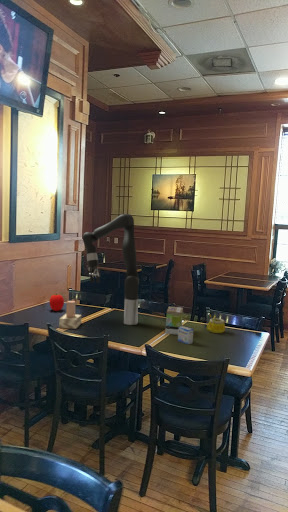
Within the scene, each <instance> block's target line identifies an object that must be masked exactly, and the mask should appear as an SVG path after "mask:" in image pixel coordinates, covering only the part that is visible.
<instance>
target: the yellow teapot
mask: <svg viewBox="0 0 288 512" xmlns="http://www.w3.org/2000/svg"><path fill="white" fill-rule="evenodd" d="M209 316H210V319H209V322H208V323H207V325H206V330H207V331H208V332H211V333H213V334H223V333H225V330H226V324H225V320H224V319H222V318H217V316H216V315H214V316H213V318H212V315H211V314H209Z"/></svg>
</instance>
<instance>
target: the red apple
mask: <svg viewBox="0 0 288 512" xmlns="http://www.w3.org/2000/svg"><path fill="white" fill-rule="evenodd" d="M48 302H49V306H50V309H51V310H52V311H55V312H58V311H61V310H62V309H63V308H64V304H65V300H64V297H63V296H62V295H61V294H58V293H56V294H53V295H52V294H51V296H50V298H49V301H48Z"/></svg>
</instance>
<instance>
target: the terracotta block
mask: <svg viewBox="0 0 288 512" xmlns="http://www.w3.org/2000/svg"><path fill="white" fill-rule="evenodd" d="M65 311H66V312H65V314H66V317H71V318H73V317H75V314H76V301H75V300H68V301H66V310H65Z"/></svg>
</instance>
